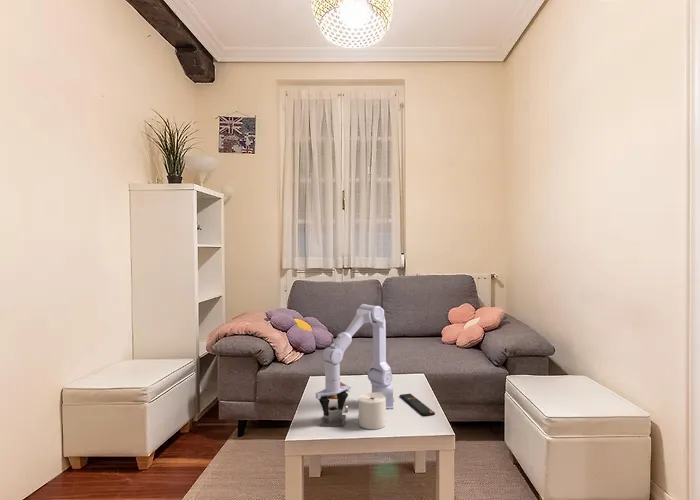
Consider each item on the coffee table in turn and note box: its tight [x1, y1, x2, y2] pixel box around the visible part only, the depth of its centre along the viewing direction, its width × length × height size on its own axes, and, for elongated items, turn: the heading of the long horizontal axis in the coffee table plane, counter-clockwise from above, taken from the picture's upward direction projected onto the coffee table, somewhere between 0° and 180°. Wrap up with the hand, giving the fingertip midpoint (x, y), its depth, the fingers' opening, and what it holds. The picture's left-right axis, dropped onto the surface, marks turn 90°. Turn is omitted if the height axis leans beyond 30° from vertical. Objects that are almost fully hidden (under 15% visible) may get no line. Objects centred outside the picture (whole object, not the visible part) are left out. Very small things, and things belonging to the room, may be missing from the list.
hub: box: [319, 414, 347, 428], centre depth 166 cm, size 9×9×4 cm
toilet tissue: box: [358, 392, 387, 430], centre depth 164 cm, size 11×12×10 cm
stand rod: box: [343, 404, 349, 413], centre depth 175 cm, size 1×1×2 cm
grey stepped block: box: [322, 404, 343, 423], centre depth 166 cm, size 6×6×4 cm
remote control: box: [399, 393, 436, 417], centre depth 181 cm, size 5×24×1 cm, turn 17°
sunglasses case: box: [327, 381, 352, 400], centre depth 199 cm, size 18×7×7 cm
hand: (333, 413), depth 166 cm, fingers closed on grey stepped block, 6 cm apart
